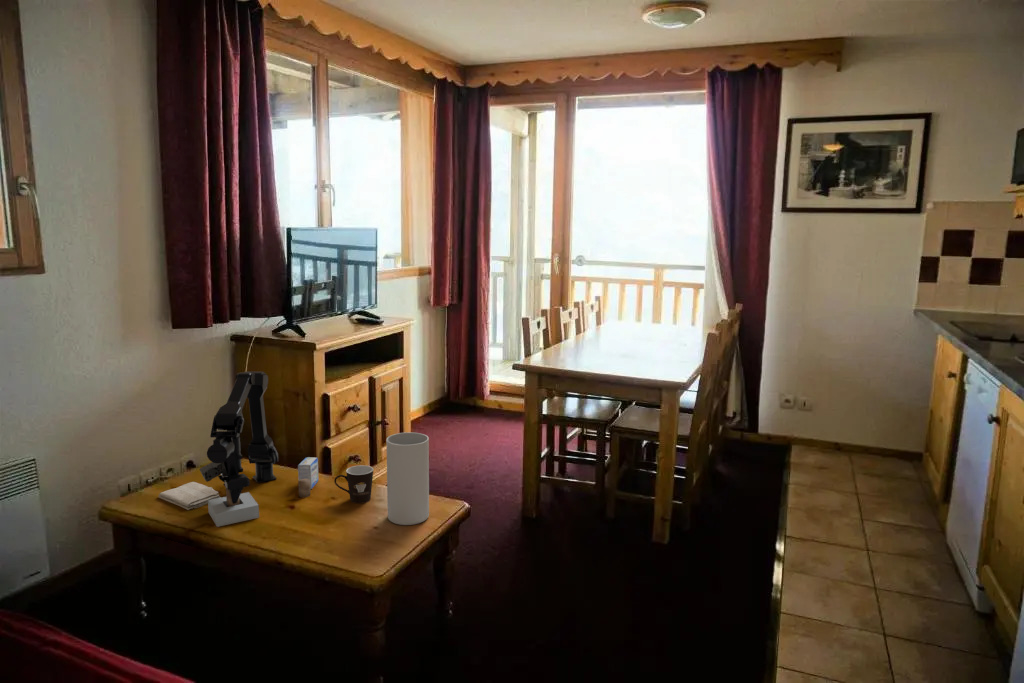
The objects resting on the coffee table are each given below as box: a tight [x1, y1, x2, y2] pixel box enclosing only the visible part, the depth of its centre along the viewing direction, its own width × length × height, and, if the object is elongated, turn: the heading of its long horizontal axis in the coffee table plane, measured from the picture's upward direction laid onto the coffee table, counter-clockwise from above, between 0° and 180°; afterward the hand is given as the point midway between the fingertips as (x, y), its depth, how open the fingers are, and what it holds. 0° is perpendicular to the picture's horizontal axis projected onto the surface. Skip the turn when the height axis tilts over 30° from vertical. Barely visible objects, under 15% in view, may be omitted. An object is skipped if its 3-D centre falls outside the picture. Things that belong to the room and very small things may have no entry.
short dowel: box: [298, 479, 311, 498], centre depth 223 cm, size 4×4×5 cm
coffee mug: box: [334, 464, 374, 504], centre depth 220 cm, size 12×9×10 cm
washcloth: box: [158, 481, 222, 511], centre depth 219 cm, size 12×18×3 cm, turn 57°
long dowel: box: [225, 487, 240, 507], centre depth 206 cm, size 4×4×9 cm
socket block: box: [207, 491, 260, 528], centre depth 207 cm, size 12×12×4 cm
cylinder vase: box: [386, 432, 430, 526], centre depth 205 cm, size 12×12×25 cm
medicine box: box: [297, 456, 319, 490], centre depth 231 cm, size 8×4×9 cm, turn 179°
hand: (233, 501), depth 206 cm, fingers closed on long dowel, 3 cm apart
